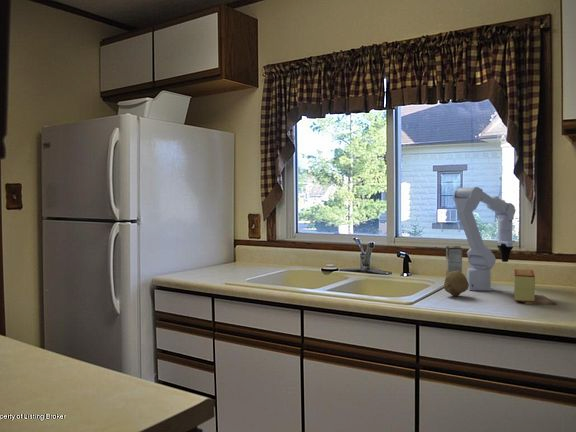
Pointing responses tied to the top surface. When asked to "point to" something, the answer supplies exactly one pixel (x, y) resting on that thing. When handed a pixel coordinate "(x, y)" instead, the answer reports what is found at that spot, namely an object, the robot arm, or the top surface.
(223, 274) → the top surface
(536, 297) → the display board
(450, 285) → the natural sponge
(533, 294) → the baking soda box
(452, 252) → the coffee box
